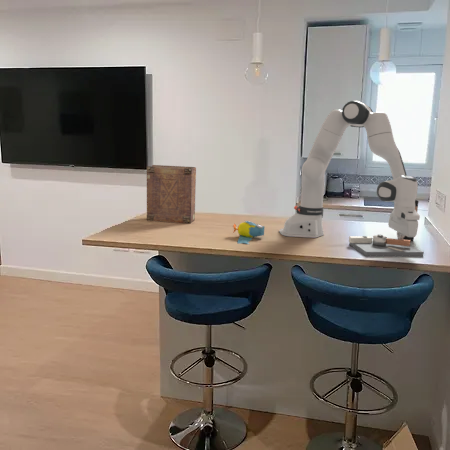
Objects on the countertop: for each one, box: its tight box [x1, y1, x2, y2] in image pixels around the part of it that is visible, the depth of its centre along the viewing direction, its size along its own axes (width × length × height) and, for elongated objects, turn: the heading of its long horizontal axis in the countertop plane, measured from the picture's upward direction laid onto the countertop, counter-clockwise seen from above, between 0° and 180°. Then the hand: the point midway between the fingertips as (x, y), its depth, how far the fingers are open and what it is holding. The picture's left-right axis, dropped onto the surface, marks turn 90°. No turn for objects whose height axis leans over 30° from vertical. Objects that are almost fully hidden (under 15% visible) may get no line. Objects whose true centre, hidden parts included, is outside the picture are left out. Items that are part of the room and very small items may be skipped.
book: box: [146, 164, 197, 224], centre depth 263 cm, size 25×9×30 cm, turn 79°
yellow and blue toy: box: [232, 220, 265, 245], centre depth 232 cm, size 28×9×15 cm
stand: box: [348, 235, 424, 258], centre depth 216 cm, size 27×20×5 cm
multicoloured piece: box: [372, 234, 411, 246], centre depth 216 cm, size 16×6×4 cm, turn 72°
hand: (399, 241), depth 216 cm, fingers closed
